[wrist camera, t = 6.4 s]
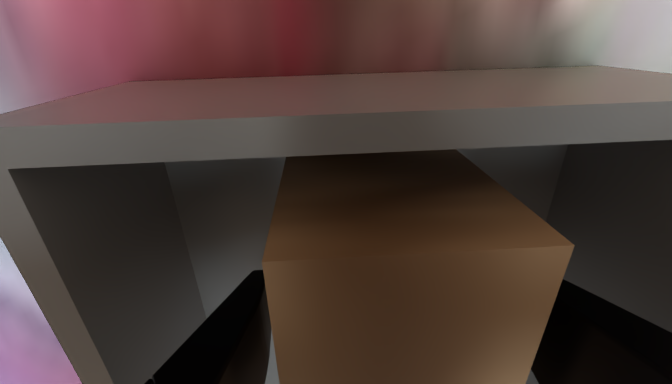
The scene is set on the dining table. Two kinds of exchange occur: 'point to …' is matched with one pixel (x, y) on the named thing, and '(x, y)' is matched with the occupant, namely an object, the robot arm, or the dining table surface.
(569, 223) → the tote
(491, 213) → the walnut cube
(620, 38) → the dining table surface
